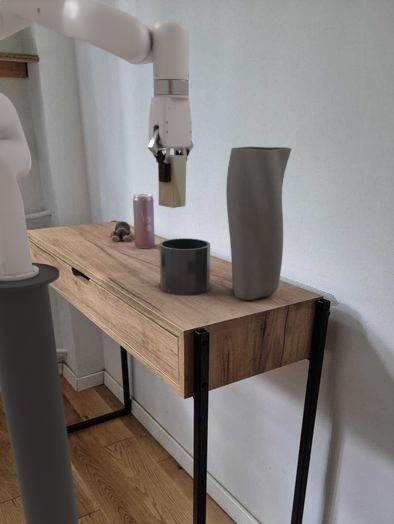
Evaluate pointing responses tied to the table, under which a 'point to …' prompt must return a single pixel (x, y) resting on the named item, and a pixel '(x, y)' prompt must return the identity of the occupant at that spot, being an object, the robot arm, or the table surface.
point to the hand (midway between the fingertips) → (172, 180)
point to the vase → (256, 218)
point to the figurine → (121, 232)
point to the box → (174, 184)
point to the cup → (184, 266)
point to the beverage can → (143, 220)
